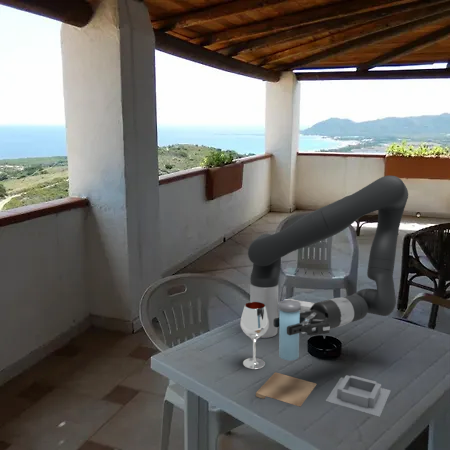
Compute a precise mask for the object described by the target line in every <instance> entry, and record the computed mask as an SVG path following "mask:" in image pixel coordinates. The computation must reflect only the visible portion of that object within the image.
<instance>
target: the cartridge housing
mask: <svg viewBox="0 0 450 450" xmlns="http://www.w3.org/2000/svg"><path fill="white" fill-rule="evenodd" d="M391 392H392V390H391V389H388V388H387V389H386V388H382V383H378V381H375V380H371V379H367V378H363V377H359V376H356V375H348V374H346V375H345V376H344V377H340V378H339V380H338V381H337V382H336V384H335V386H334V387H333V389H332V390H331V392H330V393H329V395H328V396H327V398H326V399H325V402H328V403H331V404H335V405H338V406H341V407H344V408H348V409H352V410H355V411H358V412H362V413H366V414H369V415H372V416H376V417H379V418H380V417H381V414H382V412H383V410H384V408H385V406H386V403H387V400H388V398H389V396H390V394H391Z"/></svg>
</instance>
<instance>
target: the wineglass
mask: <svg viewBox="0 0 450 450" xmlns="http://www.w3.org/2000/svg"><path fill="white" fill-rule="evenodd" d="M240 328H241V330H242V332H243V333H244V334H245V335H246V336H248V338H250V339H251V340H252V357H249V358H246V359H244V360H243V362H242V365H243V366H244V367H245V368H247V369H251V370H258V369H262V368H264V367H265V366H266V361H264V360H263V359H261V358H258V357H256V355H257V354H256V353H257V352H256V351H257V349H256V348H257V346H256V345H257V340H258V339H260V338H261V336H262V335H263V334H265V333H266V331H267V330H268V328H269V319H268V315H267V311H266V307H265V304H263V303H261V302H250V301H248V302H247V303H245V304H244V307H243V311H242V314H241V318H240Z"/></svg>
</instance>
